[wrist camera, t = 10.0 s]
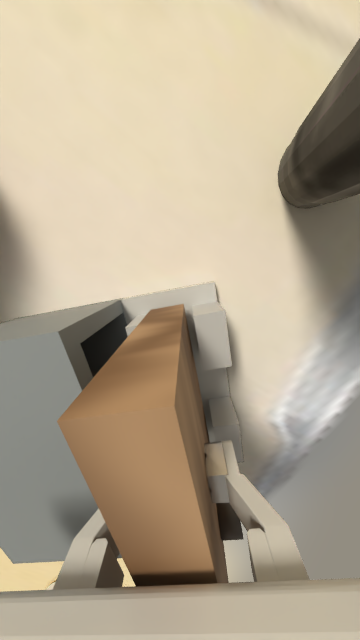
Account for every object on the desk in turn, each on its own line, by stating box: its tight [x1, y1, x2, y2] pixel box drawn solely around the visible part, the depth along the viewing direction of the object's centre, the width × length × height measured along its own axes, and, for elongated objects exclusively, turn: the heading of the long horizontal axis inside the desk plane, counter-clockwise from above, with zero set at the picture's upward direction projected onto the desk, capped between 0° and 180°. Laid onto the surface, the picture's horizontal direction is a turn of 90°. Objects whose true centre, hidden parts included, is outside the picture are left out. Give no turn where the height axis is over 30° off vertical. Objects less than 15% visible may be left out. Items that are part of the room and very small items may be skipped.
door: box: [57, 304, 243, 586], centre depth 10 cm, size 4×14×10 cm, turn 11°
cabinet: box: [0, 281, 244, 564], centre depth 13 cm, size 16×18×8 cm
